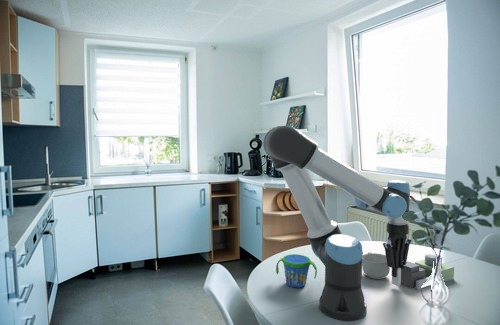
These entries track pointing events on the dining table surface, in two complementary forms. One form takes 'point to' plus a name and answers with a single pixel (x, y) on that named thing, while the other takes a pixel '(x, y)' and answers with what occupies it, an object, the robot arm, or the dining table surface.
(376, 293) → the dining table surface
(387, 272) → the teacup
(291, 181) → the robot arm
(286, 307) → the dining table surface
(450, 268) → the green and grey blocks
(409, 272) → the dark grey stepped block
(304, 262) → the snack cup
